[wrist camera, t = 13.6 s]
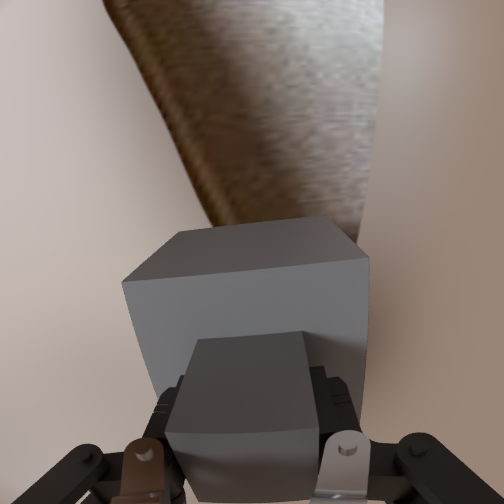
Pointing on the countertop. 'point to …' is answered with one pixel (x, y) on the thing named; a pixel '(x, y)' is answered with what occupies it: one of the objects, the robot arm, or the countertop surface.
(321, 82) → the countertop surface
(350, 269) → the stepped gray cube pair
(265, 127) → the countertop surface
